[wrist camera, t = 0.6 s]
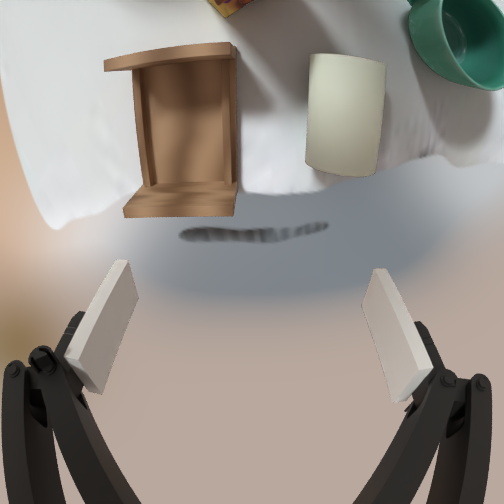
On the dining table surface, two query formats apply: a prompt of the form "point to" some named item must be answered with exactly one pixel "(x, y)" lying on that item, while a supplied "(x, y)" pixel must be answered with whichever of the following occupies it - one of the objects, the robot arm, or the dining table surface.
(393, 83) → the dining table surface
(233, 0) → the candy box
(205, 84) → the cradle
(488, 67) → the mug
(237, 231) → the dining table surface
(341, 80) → the roll
